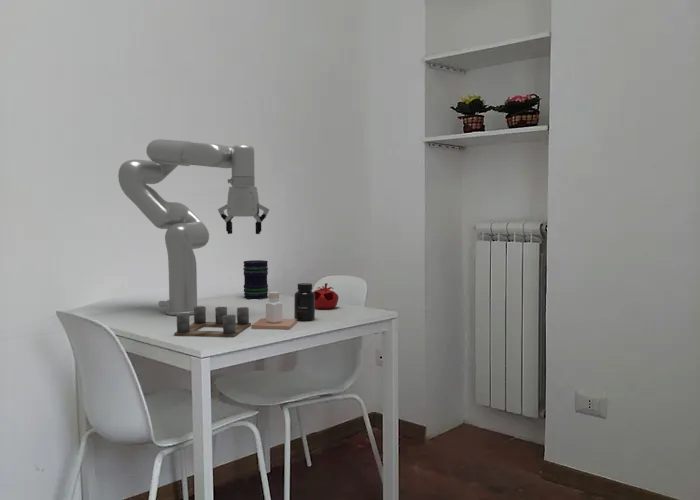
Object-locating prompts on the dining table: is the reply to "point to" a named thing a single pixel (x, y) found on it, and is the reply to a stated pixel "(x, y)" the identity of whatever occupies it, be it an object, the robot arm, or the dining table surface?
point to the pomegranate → (325, 298)
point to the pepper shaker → (274, 308)
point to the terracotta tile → (274, 324)
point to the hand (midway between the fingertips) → (243, 233)
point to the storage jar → (255, 279)
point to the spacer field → (213, 323)
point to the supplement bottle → (304, 303)
